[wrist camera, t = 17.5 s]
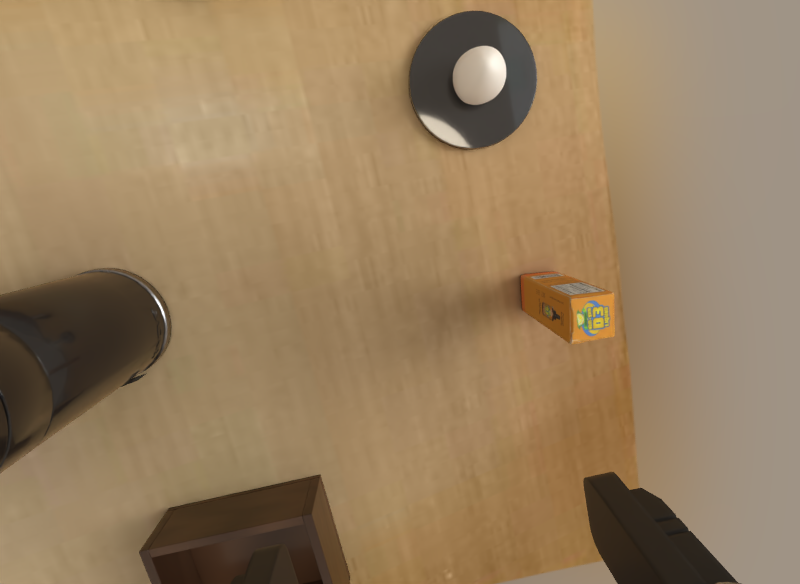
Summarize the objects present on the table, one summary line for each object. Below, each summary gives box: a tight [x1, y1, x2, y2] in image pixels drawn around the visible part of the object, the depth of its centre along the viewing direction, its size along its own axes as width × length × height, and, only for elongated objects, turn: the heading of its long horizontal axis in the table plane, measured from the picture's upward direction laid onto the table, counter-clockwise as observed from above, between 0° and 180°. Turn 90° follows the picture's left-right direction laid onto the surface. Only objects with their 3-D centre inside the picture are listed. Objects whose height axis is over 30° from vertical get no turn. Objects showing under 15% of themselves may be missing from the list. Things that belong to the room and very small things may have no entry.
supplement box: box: [521, 272, 614, 345], centre depth 35 cm, size 3×3×10 cm
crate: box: [139, 475, 350, 584], centre depth 41 cm, size 15×12×5 cm
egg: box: [453, 46, 506, 105], centre depth 33 cm, size 4×4×6 cm
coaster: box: [409, 11, 537, 149], centre depth 36 cm, size 10×10×1 cm
